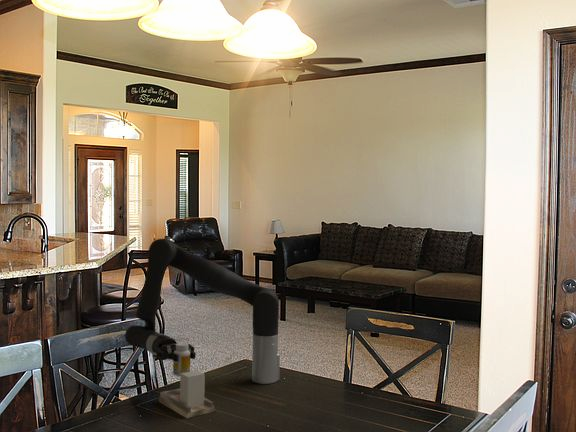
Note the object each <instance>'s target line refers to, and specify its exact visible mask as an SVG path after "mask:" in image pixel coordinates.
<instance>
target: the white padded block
mask: <svg viewBox="0 0 576 432" xmlns="http://www.w3.org/2000/svg"><path fill="white" fill-rule="evenodd" d="M205 376H206V375H205V373H204V372H201V371H200V370H192V371H191V370H190V372H185V373H180V376H179V377H180V379H179V381H180V382H179V385H180V386H179V389H180V402H182V403H184V404H186V405H188V406H189V407H191V408H195V407H199V406H203V405H204V398H205V385H206V384H205V381H206V379H205V378H206V377H205Z"/></svg>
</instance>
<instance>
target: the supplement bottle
mask: <svg viewBox="0 0 576 432" xmlns="http://www.w3.org/2000/svg"><path fill="white" fill-rule="evenodd" d="M188 344H189V343H187V342H177V344H176V349H177V350H175V351H174V353H175V354H178V356H179V360H178V362H175V361H173V360H172V363H173V364H172V366H173V368H172V374H173V375H174V376H176V377H180V373H185V372H191V358H190V351H189V350H188Z"/></svg>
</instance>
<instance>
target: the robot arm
mask: <svg viewBox="0 0 576 432" xmlns="http://www.w3.org/2000/svg"><path fill="white" fill-rule="evenodd" d="M147 255H148V257H147V268H146V273H145V278H144V282H143V286H142V290H141V293H140V298H139V301H138V303H137V308H136V312H135V316H136V318H137V319H139V320H142V321H144V325H143V326H142V325H130V326H129V327H128V328H126V331H125V333H124V339H125V341H126V343H127V344H128V345H130V346H132V347H135V348H140V349H144V350H146V351H147V352H149V353H150V354H151V355H152V358H155V359H158V360H161V361H166V360H168V361H171V360H172V362H173V361H175V362H178V360H179V356H178V354H175V353H174V351H175V350H177V349H176V344H177V343H178V342H177V340H175V338H173V337H171V336H168V335H166V334H164V333H160V332H158V331H156V318H157V312H158V308H159V305H160V304H159V303H160V300H161V295H162V286H163V281H164V277H165V274H166V270H167V268H168V267H169V266H170V267H172V268H173V269H174V268H175V269H176V270H179V271H181V272H183V273H185V274H186V275H187V276H189V277H190V278H192V279H193V280H194V281H196V282H197V283H198V284H200V285H202V286H204V287H206V288H208V289H210V290H212V291H214V292H216V293H218V294H219V293H220V294H223V295H226V296H229V297H233V298H237V299H240V300H242V301H244V303H247V304H249V305H251V306H252V355H251V356H252V357H251V358H252V361H251V365H252V366H251V367H252V368H251V381H252V382H254V383H257V384H260V385H261V384H262V385H266V384H274V383H276V382H277V381H280V367H281V366H280V365H281V364H280V358H281V356H280V353H279V352H278V351H279V349H278V347H279V307H280V305H279V304H280V303H279V301H280V300H279V297H278V294H277V293H276V292H275V291H274V290H272V289H270V288H266V287H264V286H262V285H258V284H257V283H253V282H251V281H249V280H247V279H245V278H243V277H242V276H240V275H238V274H237V273H235V272H234V271H231V270H230V269H228V268H226V267H224V266H223V265H220V264H218V263H216V262H213V261H211V260H209V259H207V258H204V257H201V256H199V255H197V254H193V253H191V252H189V251H187V250H185V249H184V248H182V247H181V246H179V245H178V244H176V243H174V242H173V241H172V240H170V239H168V238H158V239H156V240H154V241H152V242H151V244H150V245H149V249H148V254H147ZM195 349H196V348H195V347H194V346H193V345H192V344H190V343H188V350H189V351H190V360H191V359H192V360H195V359H196V354H197V353H196V352H195Z"/></svg>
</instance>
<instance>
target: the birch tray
mask: <svg viewBox="0 0 576 432" xmlns="http://www.w3.org/2000/svg"><path fill="white" fill-rule="evenodd" d="M159 394H160V396H159V397H158V402H159V403H160V404H162V405H163V406H165V407H167V408H168V409H170V410H172V411H174V412H176V413H177V414H179V415H180V416H182V417H184V418H186V419H189V418H193V417H197V416H200V415H206V414H211V413H213V412H215V409H216V407H215V406H214V401H211V400H210V399H208V398H206V397H204V405H203V406H199V407H195V408H191V407H189V406H188V405H186V404H184V403H182V402H180V388H176V389H170V390H166V391H161V392H160V393H159Z"/></svg>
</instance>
